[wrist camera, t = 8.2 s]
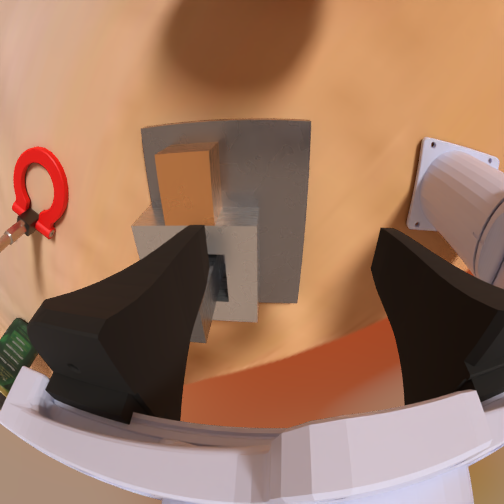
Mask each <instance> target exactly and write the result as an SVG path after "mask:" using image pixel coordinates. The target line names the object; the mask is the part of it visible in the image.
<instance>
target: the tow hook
mask: <svg viewBox="0 0 504 504" xmlns="http://www.w3.org/2000/svg"><path fill="white" fill-rule="evenodd" d="M34 162H35V163H39V164H40V165H42V166H43V167H44V168H45V169H46V170H47V171H48V173H49V175H50V176H51V179H52V182H53V187H54V200H53V204H52V206H51V208H50V209H48V210H43V211H42V212H41V213H40V214H37V213H36V212H35V211H34V210H32V209H31V208H29V205H30V199H29V197H28V195H27V192H26V188H25V173H26V170H27V168H28V167H29V165H30V164H31V163H34ZM14 189H15V194H16V201H15V202H14V204H13V206H12V210H13V211H14V212H15V213H17V214H18V215H19V216H18V218H17V223H15V224H14V225H13V226H12V227H10V228H9V229H8V230H7V231H6V232H5V233H4V235H3V236H2V237H1V238H0V252H1V251H2V250H4V249H5V248H6V247H7V246H8V245H9V244H10V245H11V244H13V243H14V242H15V241H16V240H17V239H18V238H20V237H21V236H22V235H23V234H26V235H27V236H29V235H30V234H32V233H33V232H34V231H35V230H38V231H39V232H40V233H41V234H43V235H44V236H45V237H47V238H48V239H51V238H52V236H53V235H54V233H55V228H54V227H53V225H54V222H56V221H57V220H58V219H59V218H60V217H61V216H62V215H63V213H64V211H65V209H66V206H67V202H68V185H67V178H66V175H65V173H64V170H63V167H62V165H61V164H60V162H59V160H58V159H57V158H56V157H55V155H54V154H53V153H52V152H51V151H49V150H47V149H46V148H43V147H34V148H30V149H28V150H26V151H25V152H24V153H22V154H21V156H20V157H19V159H18V160H17V163H16V166H15V170H14Z"/></svg>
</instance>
